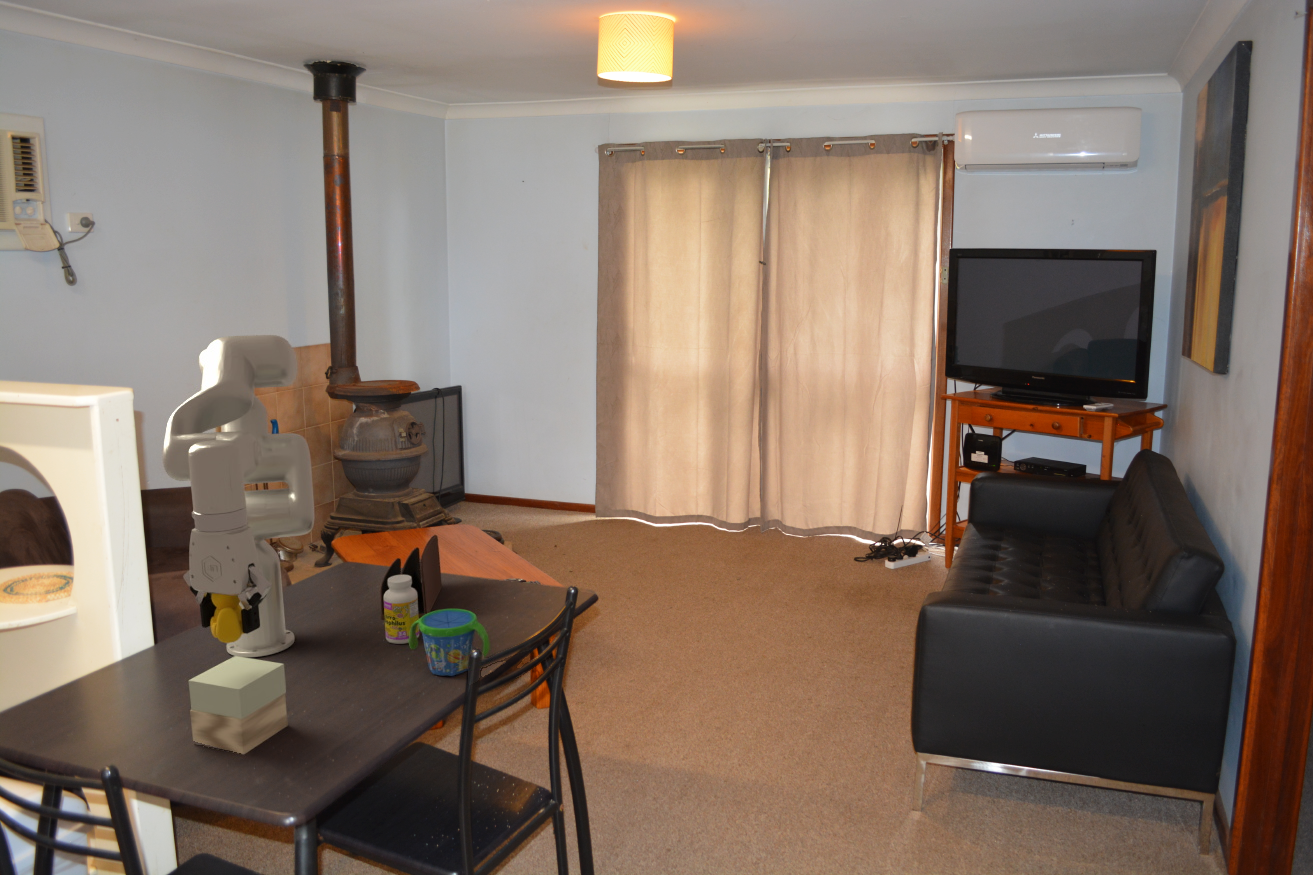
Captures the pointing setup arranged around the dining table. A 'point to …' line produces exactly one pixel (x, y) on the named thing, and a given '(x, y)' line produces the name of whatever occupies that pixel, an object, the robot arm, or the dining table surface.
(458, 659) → the snack cup
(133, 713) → the dining table surface
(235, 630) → the duckling
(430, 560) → the letter holder
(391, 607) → the supplement bottle
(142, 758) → the dining table surface
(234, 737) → the tower base
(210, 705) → the tower top
